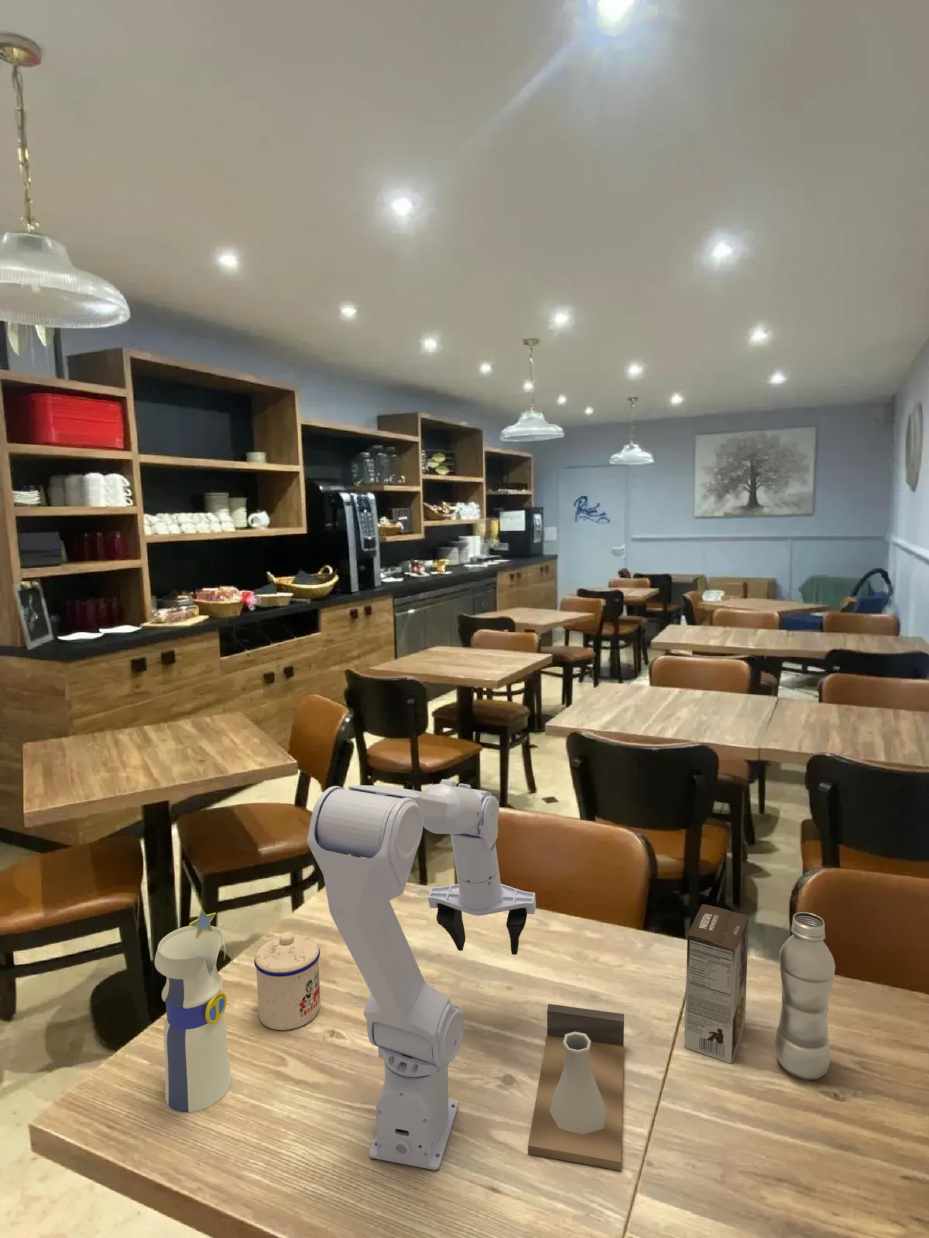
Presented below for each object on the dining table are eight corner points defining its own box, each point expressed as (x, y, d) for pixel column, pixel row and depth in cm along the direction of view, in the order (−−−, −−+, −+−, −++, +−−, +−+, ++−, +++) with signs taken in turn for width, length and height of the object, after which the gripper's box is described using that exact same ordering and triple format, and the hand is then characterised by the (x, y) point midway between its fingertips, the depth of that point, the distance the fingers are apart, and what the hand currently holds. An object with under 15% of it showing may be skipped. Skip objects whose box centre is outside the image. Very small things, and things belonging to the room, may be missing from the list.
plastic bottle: (823, 1054, 95) (831, 909, 92) (835, 1092, 88) (843, 937, 86) (770, 1045, 97) (776, 902, 94) (777, 1082, 90) (784, 930, 88)
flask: (543, 1094, 89) (542, 1019, 87) (603, 1092, 88) (603, 1018, 87) (550, 1146, 81) (548, 1065, 80) (615, 1144, 81) (614, 1064, 80)
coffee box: (698, 1008, 104) (701, 901, 102) (746, 1024, 101) (750, 913, 99) (682, 1047, 96) (685, 932, 94) (733, 1065, 93) (737, 947, 91)
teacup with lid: (313, 1033, 100) (309, 953, 99) (247, 1031, 100) (243, 952, 99) (333, 979, 112) (330, 908, 110) (274, 978, 112) (271, 907, 111)
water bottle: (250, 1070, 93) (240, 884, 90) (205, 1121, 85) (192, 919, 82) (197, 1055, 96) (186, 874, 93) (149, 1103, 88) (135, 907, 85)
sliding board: (620, 1170, 78) (621, 1132, 77) (527, 1153, 80) (527, 1116, 80) (623, 1045, 97) (624, 1013, 96) (548, 1034, 99) (548, 1003, 98)
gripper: (534, 850, 99) (543, 928, 104) (432, 846, 103) (444, 922, 107) (528, 887, 93) (537, 968, 98) (419, 881, 96) (433, 960, 101)
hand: (488, 947), depth 102 cm, fingers open, 7 cm apart
